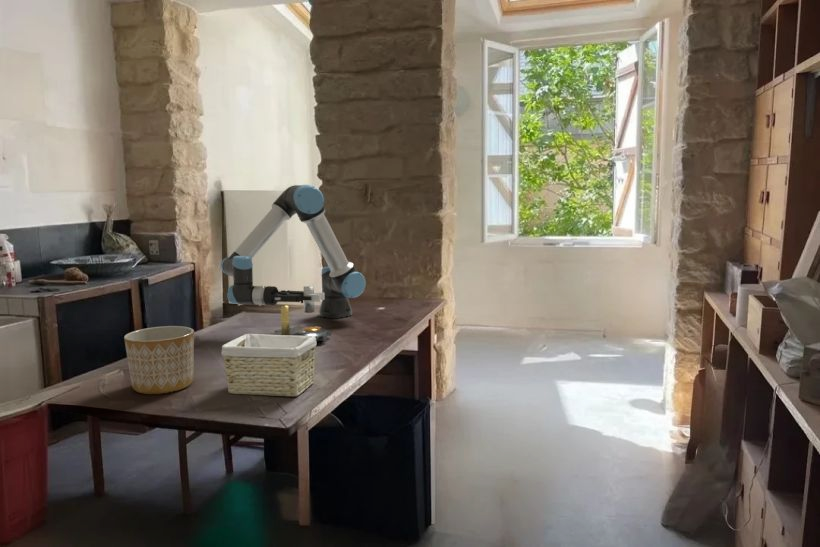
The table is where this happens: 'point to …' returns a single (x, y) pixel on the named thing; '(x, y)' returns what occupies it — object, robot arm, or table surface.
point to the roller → (308, 305)
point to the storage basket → (269, 364)
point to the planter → (160, 358)
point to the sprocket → (299, 328)
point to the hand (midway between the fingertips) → (321, 297)
